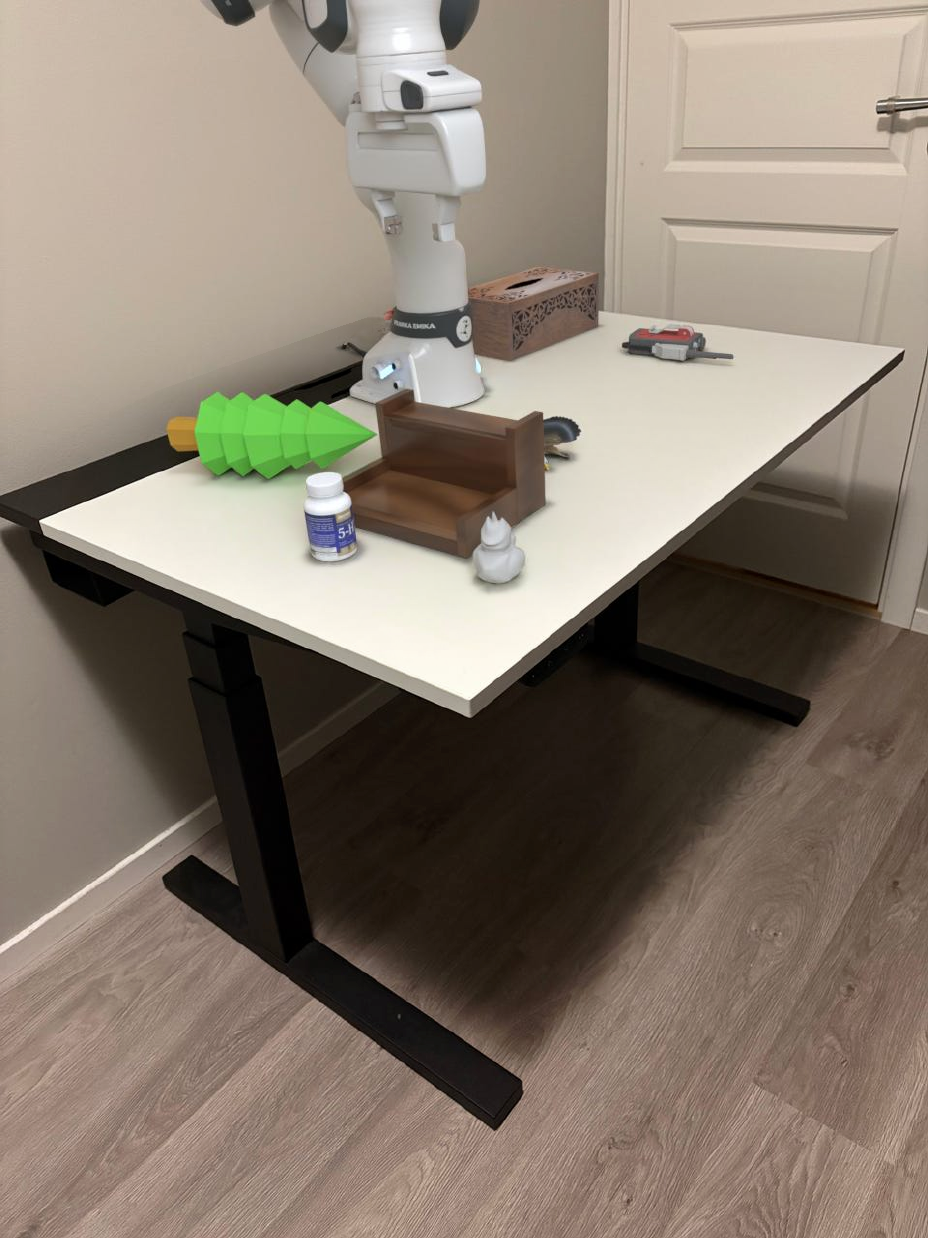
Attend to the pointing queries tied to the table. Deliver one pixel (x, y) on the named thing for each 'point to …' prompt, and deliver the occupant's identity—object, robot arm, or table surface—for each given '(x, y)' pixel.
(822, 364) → the table surface
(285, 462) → the decorative tree
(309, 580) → the table surface
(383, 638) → the table surface
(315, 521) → the pill bottle
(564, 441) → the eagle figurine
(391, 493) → the shelf
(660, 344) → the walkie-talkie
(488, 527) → the rubber duck
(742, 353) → the table surface
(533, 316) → the tissue box cover
